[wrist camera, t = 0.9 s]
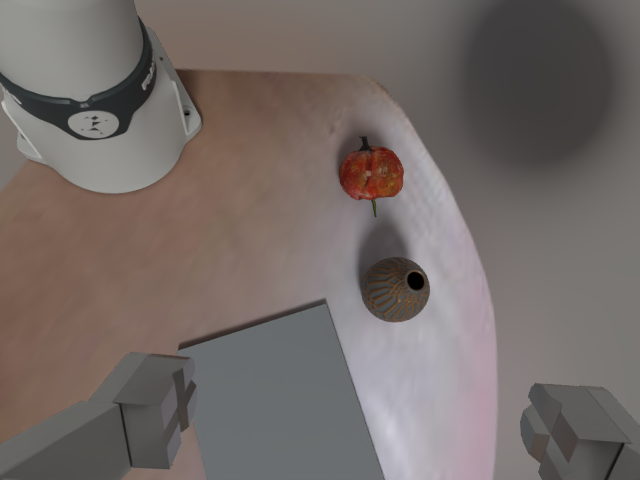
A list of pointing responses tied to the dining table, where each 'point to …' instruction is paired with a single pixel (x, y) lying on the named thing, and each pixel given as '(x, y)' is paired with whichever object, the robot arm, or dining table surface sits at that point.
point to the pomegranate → (371, 173)
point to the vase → (395, 289)
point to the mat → (280, 404)
